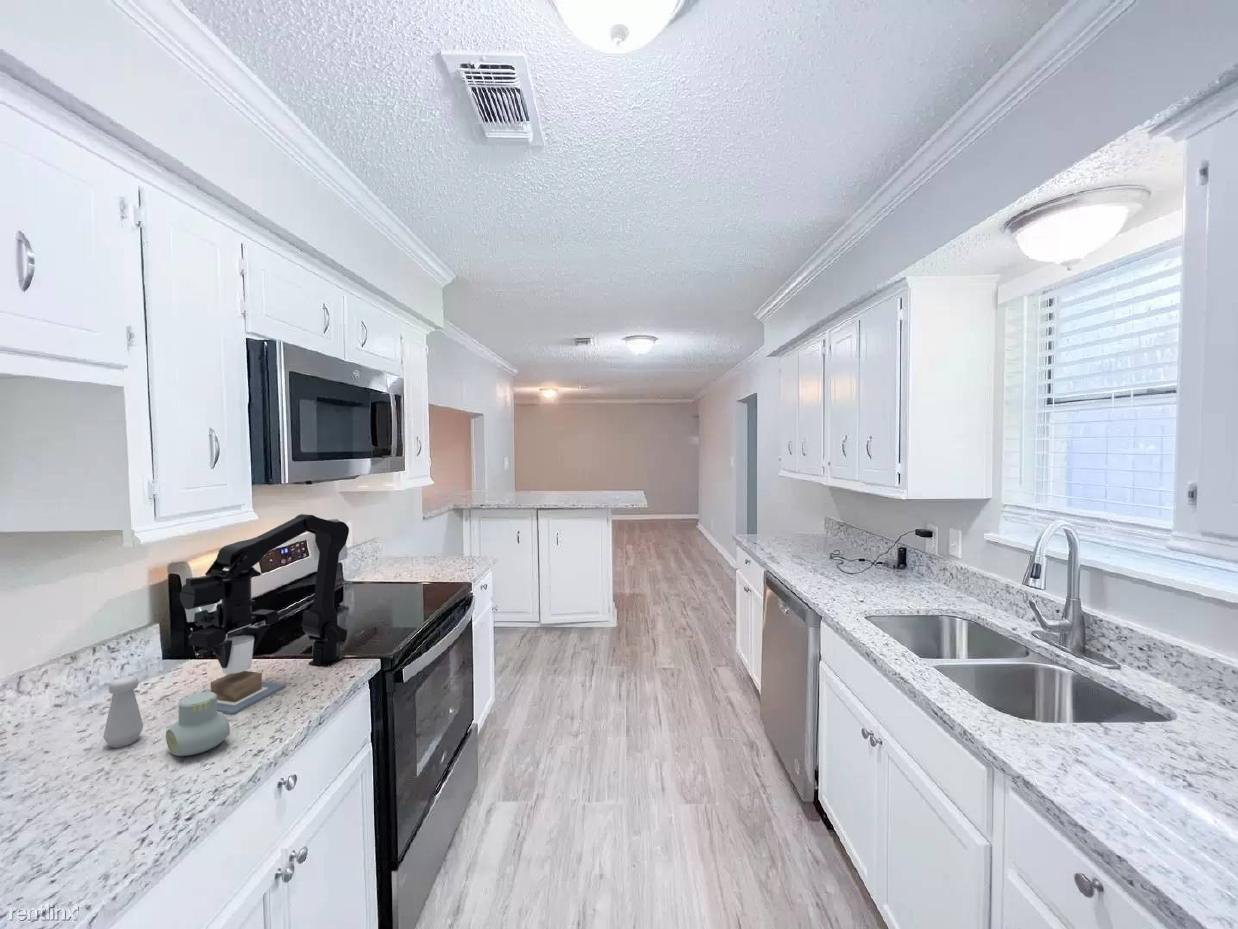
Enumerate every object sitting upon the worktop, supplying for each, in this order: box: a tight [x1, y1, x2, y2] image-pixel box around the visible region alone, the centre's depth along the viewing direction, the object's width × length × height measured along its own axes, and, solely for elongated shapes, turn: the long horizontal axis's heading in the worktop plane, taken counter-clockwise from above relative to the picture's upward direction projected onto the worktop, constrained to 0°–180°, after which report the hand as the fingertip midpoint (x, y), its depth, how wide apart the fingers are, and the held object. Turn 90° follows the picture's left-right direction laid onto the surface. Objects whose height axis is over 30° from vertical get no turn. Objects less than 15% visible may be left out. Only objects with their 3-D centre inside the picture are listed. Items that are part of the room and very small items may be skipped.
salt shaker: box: [102, 675, 144, 749], centre depth 104 cm, size 6×6×13 cm
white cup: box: [221, 634, 254, 675], centre depth 124 cm, size 7×7×7 cm
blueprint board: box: [217, 681, 287, 715], centre depth 124 cm, size 14×14×1 cm
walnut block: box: [210, 670, 263, 702], centre depth 124 cm, size 7×7×4 cm
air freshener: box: [165, 691, 231, 757], centre depth 103 cm, size 11×8×10 cm
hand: (237, 662), depth 124 cm, fingers closed on white cup, 6 cm apart
